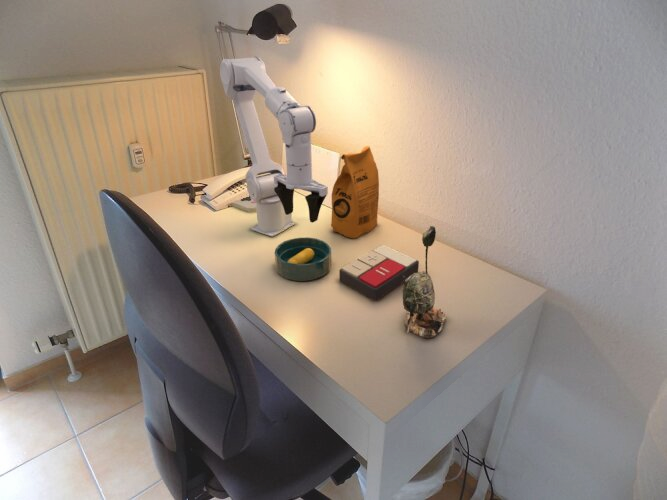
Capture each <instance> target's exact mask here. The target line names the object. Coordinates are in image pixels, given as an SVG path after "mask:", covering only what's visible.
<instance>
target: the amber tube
mask: <svg viewBox="0 0 667 500" xmlns="http://www.w3.org/2000/svg"><path fill="white" fill-rule="evenodd" d="M313 258H314V251H313V250H312V249H310V248H306V249H304V250H303V251H301V252H300V253H298V254H297V255H295V256H294V257H292V258H291V259H289V260H288V262H289V263H293V264H306V263H308V262H309V261H310V260H312V259H313Z"/></svg>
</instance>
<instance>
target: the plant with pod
mask: <svg viewBox="0 0 667 500" xmlns="http://www.w3.org/2000/svg"><path fill="white" fill-rule="evenodd" d="M436 235H437V231H436V227H435V226H433V225H429V227H427V228H426V229H425V230H424V231H423V233H422V236H421V241H422V244H423V247H425V256H424V257H425V258H424V259H425V266H424V267H425V270H424V271H420V272H419V271H418V273H414V274H412V275H410V276H409V277H408V278H407V279H406V280H405V281H404V282H403V288H402V306H403V309H404V310H405V311H406V312H407V313H406V314H405V320H403V321H404V325H403V327H405V329H406V333H408V334H409V333H410V332H411V333H413V334H416V336H419V337H421V338H426V339H427V338H429V339H431V338H434V337H435V336H436V335H437V334H439V333H441V331H442V330H443V326H444V323H446V319H447V316H446V314H445V313H444V311H441V310H442V308H439V309H438V308H436V307H434V305H435V300H436V293H435V287H434V283H433V279H432V277H431V275H430V274H429V273H428V251H429V247H432V245H433V244H434V243H435V240H436ZM403 277H405V276H403Z"/></svg>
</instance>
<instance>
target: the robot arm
mask: <svg viewBox="0 0 667 500" xmlns="http://www.w3.org/2000/svg"><path fill="white" fill-rule="evenodd" d="M219 77H220V80H221V84H222V87H223V90H224V93H225V95H226V98H228V99H229V100H231V101H232V103H233V107H234V109H235V112H236V116H237V119H238V122H239V125H240V128H241V132H242V135H243V139H244V142H245V145H246V148H247V152H248V155H249V158H250V161H251V164H252V165H251V166H250V167H249V169H248V170H247V171H246V173H245V175H244V176H245V182H246V189H247V194H249V196H250V197H251V198H252V199H253V200H254V201H256V210H257V211H256V218H257V219H256V220H257V224H256V225H253V226H252V227H250V228H251V230H252V231H254V232H257V233H260V234H263V235H266V236H269V237H271V238H273V237H275V236H277V235H279V234H281V233H282V232H284V231H286V230H287V229H289V228H291V227H293V226H294V225H295V222H294V221H293V216H292V215H293V214H292V213H294V195H295V194H294V193H295V190H302V191H305V192H309V193H310V194H308V195H306V196H305V201H306V203H307V207H308V216H309V218H308V219H309V222H310V223H315V222H317V221H318V220H319V215H320V211H321V208H322V205H323V203H324V201H325V199H326V197H327V196H328V194H329V191H328V190H329V187H328V185H325V184H324V183H323V184H322V183H320V182H319V181H316V180H315V179H313V165H312V162H313V161H312V133H314V131H315V130H316V128H317V119H316V118H317V117H316V114H315V112H314V110H313V109H312V107H311V106H310V105H308V104H307V105H305V104H300V103H299V102H298V101H297V100H296V99H295V98H294V97H293V96H292V95H291V94H290V93H289V91H287V89H286V88H285V87H284V86H276V85H275V83H274V82H273V80H272V79H271V78H270V76H269V75H268V74H267V70H266V64H265V62H264V61H263V60H262V58H261V57H259V56H253V57H242V58H223V59H222V61H221V62H220V65H219ZM258 95H261V96H262V97H263V98H264V105H265V107H266V108H267V109H268V110H269V111H270V113H271V114H272V115H273V116H274V118H275V119H276V120H277V121H278V127H279V130H280V133H281V138H282V143H283V144H284V145H285V161H286V162H285V163H286V174H285V171H284V169H283V167H282V164H279V163H278V162H276V161H273V160H272V159H271V155H270V152H269V151H270V150H269V148H268V145H267V141H266V138H265V135H264V131H263V129H262V125H261V121H260V119H259V115H258V111H257V109H256V106H255V101H254V100H255V97H257V96H258Z"/></svg>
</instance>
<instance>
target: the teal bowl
mask: <svg viewBox="0 0 667 500" xmlns="http://www.w3.org/2000/svg"><path fill="white" fill-rule="evenodd" d="M306 248H310V249H312V250H313V251H314V258H313V259H312V260H310V261H309V262H308V263H306V264H293V263H289V262H288V260H289V259H291V258H292V257H294V256H295V255H297V254H298V253H300V252H301V251H303V250H304V249H306ZM274 260H275V262H274V263H275V270H276V272H277V273H278V275H280V276H281V277H282V278H285V279H287V280H290V281H298V282H303V281H304V282H305V281H313V280H317V279H319V278H321V277H324V276H325V275H327V274H328V273H329V272H330V270H331V269H332V248H331V246H330V244H329V243H328V242H326V241H324V240H321V239H318V238H315V237H307V236H306V237H295V238H290V239H287V240H285V241H283V242H280V243H279V244H278V245H277V246H276V247H275V249H274Z"/></svg>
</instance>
